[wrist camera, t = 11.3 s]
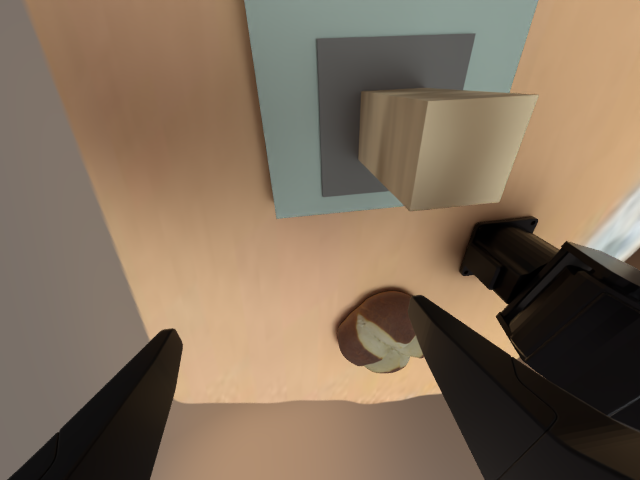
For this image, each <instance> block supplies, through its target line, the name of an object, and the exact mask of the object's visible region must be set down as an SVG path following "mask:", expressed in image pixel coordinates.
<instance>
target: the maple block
mask: <svg viewBox="0 0 640 480" xmlns="http://www.w3.org/2000/svg"><path fill="white" fill-rule="evenodd" d="M538 96H539V95H534V94H517V93H501V92H485V91H468V90H452V89H436V88H414V89H395V90H376V91H361V108H360V132H359V156H358V160H359V161H360V162H361V163H362V164H363V165H364V166H365V167H366V168H367V169H368V170H369V171H370V172H371V173H372V174H373V175H374V176H375V177H376V178H377V179H378V180H379V181H380V182H381V183H382V184H383V185H384V186H385V187H386V188H387V189H388V190H389V191H390V192H391V193H392V194H393V195H394V196H395V197H396V198H397V199H398V200H399V201H400V202H401V203H402V204H403V205H404V206H405V207H406V208H407V209H408V210H409V211H419V210H428V209H438V208H448V207H458V206H468V205H478V204H488V203H497V202H499V201H500V199H501V196H502V193H503V191H504V188H505V185H506V183H507V180H508V177H509V174H510V172H511V169H512V166H513V164H514V161H515V158H516V155H517V153H518V150H519V147H520V145H521V142H522V139H523V137H524V134H525V131H526V128H527V126H528V123H529V120H530V118H531V115H532V112H533V110H534V107H535V104H536V101H537V99H538Z"/></svg>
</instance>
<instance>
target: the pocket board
mask: <svg viewBox="0 0 640 480" xmlns="http://www.w3.org/2000/svg"><path fill="white" fill-rule="evenodd" d="M244 2H245V9H246V16H247V22H248V29H249V36H250V43H251V49H252V56H253V63H254V70H255V76H256V83H257V90H258V97H259V103H260V110H261V117H262V124H263V130H264V137H265V144H266V151H267V157H268V164H269V171H270V178H271V184H272V191H273V198H274V205H275V211H276V218H277V219H280V218H290V217H300V216H310V215H320V214H330V213H340V212H350V211H360V210H370V209H380V208H391V207H401V206H404V205H403V204H402V203H401V202H400V201H399V200H398V199H397V198H396V197H395V196H394V195H393V194H392V193H391V192H390V191H389V190H388V189H387V188H386V187H385V186H384V185H383V184H382V183H381V182H380V181H379V180H378V179H377V178H376V177H375V176H374V175H373V174H372V173H371V172H370V171H369V170H368V169H367V168H366V167H365V166H364V165H363V164H362V163H361V162H360V161H359V160H358V156H359V132H360V108H361V91H376V90H395V89H414V88H436V89H452V90H468V91H485V92H501V93H509V92H510V89H511V86H512V83H513V79H514V76H515V73H516V70H517V67H518V64H519V60H520V57H521V54H522V51H523V48H524V44H525V41H526V38H527V35H528V32H529V28H530V25H531V22H532V19H533V16H534V13H535V9H536V6H537V3H538V0H244Z"/></svg>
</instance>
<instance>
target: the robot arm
mask: <svg viewBox="0 0 640 480" xmlns="http://www.w3.org/2000/svg"><path fill="white" fill-rule="evenodd" d="M537 223H538V219H536V218H534V217H525V218H516V219H506V220H497V221H488V222H480V223H477V224H476V225H475V227H474V229H473V232H472V235H471V238H470V241H469V244H468V247H467V250H466V253H465V256H464V259H463V263H462V266H461V269H460V273H461V274H462V275H463V276H469V275H475V276H476V277H477V278H478V279H479V280H480V281H481V282H482V283H483V284H484V285H485V286H486V287H487V288H488V289H489V290H493V291H494V292H495V293H496V294H497V295H498V296H499V297H500V298H501V299H502V300H503V301H504V302H505V303H506V304H508V305H507V306H506V308H505V309H504V310H503V311H502V312H499V313H498V314H497V315H496V318H497V320H498V321H499V323H500V325H501V326H502V328H503V330H504V331H505V333H506V335H507V336H508V338H509V340H510V341H511V343H512V345H513V346H514V348H515V350H516V351H517V353H518V354H519V356H520V358H521V359H522V360H523V361H524V362H525V363H526V364H528V365H529V366H530V367H531V368H532V369H534V370H535V371H536V372H538V373H539V374H540V375H539V374H537V373H536V372H534V371H533V370H531V369H530V368H528V367H527V366H525V365H524V364H522V363H521V362H519V361H518V360H517V359H515V358H514V357H511V356H510V355H509V354H508V353H506V352H505V351H503V350H502V349H500V348H499V347H497V346H496V345H494V344H493V343H491V342H490V341H489V340H487V339H486V338H484V337H483V336H481V335H480V334H478V333H477V332H475V331H474V330H472V329H471V328H470V327H468V326H467V325H465V324H464V323H462V322H461V321H459V320H458V319H456V318H455V317H453V316H452V315H450V314H449V313H448V312H446V311H445V310H443V309H442V308H440V307H439V306H437V305H436V304H434V303H433V302H431V301H430V300H429V299H427V298H426V297H424V296H422V295H416V296H412V297H411V298H410V302H409V307H408V316H409V318H410V321H411V324H412V327H413V329H414V332H415V335H416V338H417V340H418V343H419V346H420V348H421V351H422V353H423V355H424V357H425V359H426V362H427V364H428V366H429V368H430V370H431V372H432V374H433V376H434V378H435V380H436V382H437V384H438V386H439V388H440V390H441V392H442V394H443V396H444V398H445V400H446V402H447V404H448V406H449V408H450V410H451V412H452V414H453V416H454V418H455V420H456V422H457V425H458V426H459V429H460V430H461V433H462V435H463V437H464V439H465V441H466V443H467V445H468V447H469V449H470V451H471V453H472V455H473V457H474V459H475V461H476V463H477V465H478V467H479V469H480V471H481V473H482V475H483V477H484V479H485V480H640V271H639V270H638V269H636V268H634V267H633V266H630V265H628V264H626V263H624V262H622V261H620V260H618V259H616V258H614V257H612V256H610V255H608V254H606V253H604V252H602V251H598V250H595V249H592V248H588V247H585V246H581V245H578V244H575V243H571V242H568V241H566V242H565V243H564V244H563V245H562V246H561V247H562V248H561V249H560V250H559V249H557V248H556V247H554V246H552V245H551V244H549V243H548V242H546V241H544V240H543V239H541V238H539V237H538V236H536V235H534V234H533V231H534V229H535V227H536V225H537ZM480 227H481V228H480ZM479 228H480V229H479ZM182 349H183V344H182V341H181V339H180V337H179V335H178V333H177V331H176V330H175V329H173V328H172V329H164V330H162V331H160V332H159V333H158V334H157V335H156V336H155V337H154V338H153V339H152V340H151V341H150V342H149V343H148V344H147V345H146V346H145V347H144V348H143V349H142V350H141V351H140V352H139V353H138V354H137V355H136V356H135V357H134V358H133V359H132V360H131V361H129V362H128V364H126V366H124V367H123V368H122V369H121V370H120V371H119V372H118V373H117V374H116V375H115V376H114V377H113V378H112V379H111V380H110V381H109V382H108V383H107V384H106V385H105V386H104V387H103V388H102V389H101V390H100V391H99V392H98V393H97V394H96V395H95V396H94V397H93V398H92V399H91V400H90V401H89V402H88V403H87V404H86V405H85V406H84V407H83V408H82V409H80V411H78V412H77V413H76V414H75V415H74V416H73V417H72V418H71V419H70V420H69V421H68V422H67V423H66V424H65V425H64V426H63V427H62V428H61V429H60V431H59V432H57V433H56V434H55V435H54V436H53V437H52V438H51V439H50V440H49V441H48V442H47V443H46V444H45V445H44V446H43V447H42V448H41V449H39V451H37V452H36V453H35V454H34V455H33V456H32V457H31V458H30V459H29V460H28V461H27V462H26V463H25V464H24V465H23V466H22V467H21V468H20V469H18V470H17V471H16V472H15V473H14V474H13V475H12V476H11V477H10V478H9V479H7V480H150V477H151V474H152V470H153V467H154V463H155V460H156V456H157V453H158V449H159V446H160V442H161V439H162V435H163V432H164V428H165V425H166V421H167V418H168V414H169V411H170V407H171V404H172V401H173V397H174V393H175V389H176V384H177V378H178V372H179V367H180V361H181V355H182ZM541 375H542V376H543V377H542V376H541ZM545 378H546V379H545Z"/></svg>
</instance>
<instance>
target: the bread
mask: <svg viewBox="0 0 640 480" xmlns="http://www.w3.org/2000/svg"><path fill="white" fill-rule="evenodd" d="M410 298H411V296H409V295H407V294H405V293H403V292H398V291H386V292H381V293H378V294H375V295H373V296H371V297H370V298H368V299H366V300H365V301H364V302H363V304H361V305H360V306H359V307H358V308H356V309H355V310H354V311H352V312H351V313H350V315H349V316H348V317H347V318H346V320H345V321H344V322H342V323H341V325H340V326H339V329H338V343H339V348H340V351H341V353H342V354H343V356H344V357H345V358H346V359H347V360H348V361H350V362H351V363H353V364H355V365H357V366H365V367H366V368H367V369H369V370H370V371H372V372H376V373H393V372H396V371H399V370H400V369H402V368H404V367H405V366H406V365H407V363H408V361H409V358H410V356H411V357H417V358H423V357H424V355H423V353H422V351H421V348H420V346H419V343H418V340H417V338H416V335H415V332H414V329H413V327H412V324H411V321H410V318H409V316H408V307H409V302H410Z"/></svg>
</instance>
